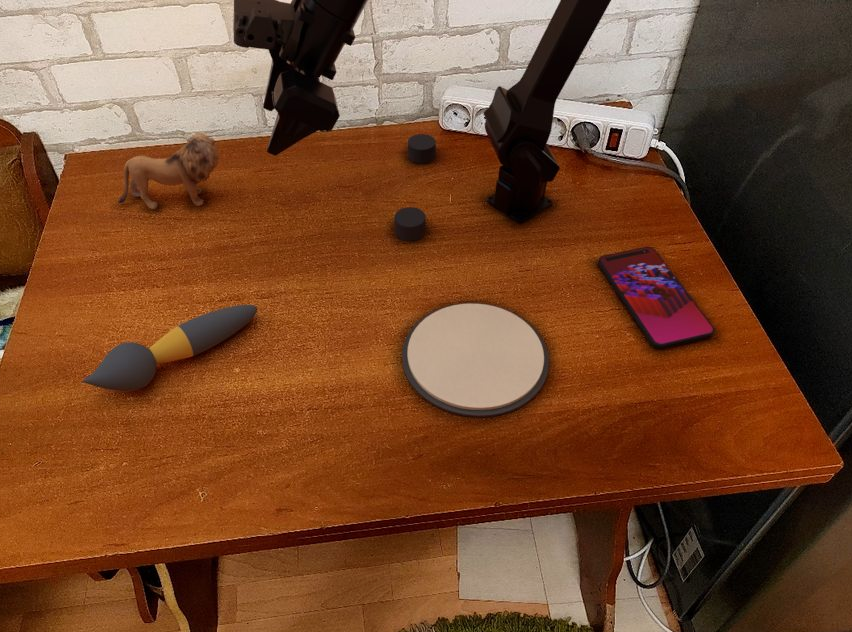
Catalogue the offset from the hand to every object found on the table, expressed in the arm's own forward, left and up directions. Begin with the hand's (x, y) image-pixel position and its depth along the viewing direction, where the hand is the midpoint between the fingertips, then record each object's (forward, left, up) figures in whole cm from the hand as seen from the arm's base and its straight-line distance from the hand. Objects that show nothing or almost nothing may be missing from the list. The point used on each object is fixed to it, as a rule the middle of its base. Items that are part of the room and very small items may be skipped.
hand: (269, 130), depth 78 cm
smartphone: (-27, +38, -15) cm, 48 cm away
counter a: (-24, -2, -15) cm, 29 cm away
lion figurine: (+8, -16, -15) cm, 23 cm away
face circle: (-4, +31, -15) cm, 35 cm away
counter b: (-12, +10, -15) cm, 22 cm away
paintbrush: (+21, +10, -15) cm, 27 cm away
